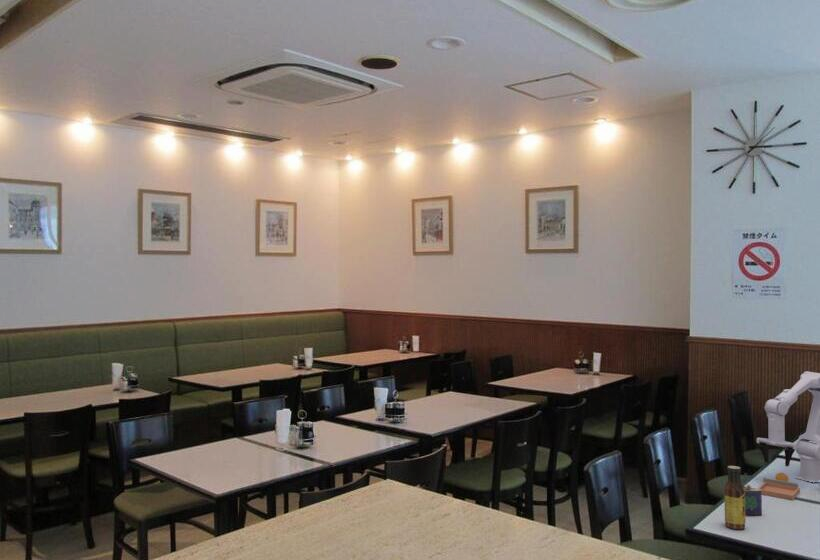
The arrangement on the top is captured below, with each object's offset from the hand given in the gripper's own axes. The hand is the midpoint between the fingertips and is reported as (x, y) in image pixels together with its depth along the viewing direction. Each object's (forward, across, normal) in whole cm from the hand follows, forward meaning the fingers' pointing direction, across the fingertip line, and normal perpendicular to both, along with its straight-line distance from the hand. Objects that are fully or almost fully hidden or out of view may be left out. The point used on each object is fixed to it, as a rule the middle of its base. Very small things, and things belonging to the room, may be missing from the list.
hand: (776, 463), depth 266 cm
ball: (+6, +1, +3) cm, 7 cm away
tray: (+9, +4, -10) cm, 13 cm away
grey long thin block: (+9, +2, -3) cm, 9 cm away
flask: (+9, +5, -42) cm, 43 cm away
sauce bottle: (+8, +7, -57) cm, 58 cm away
